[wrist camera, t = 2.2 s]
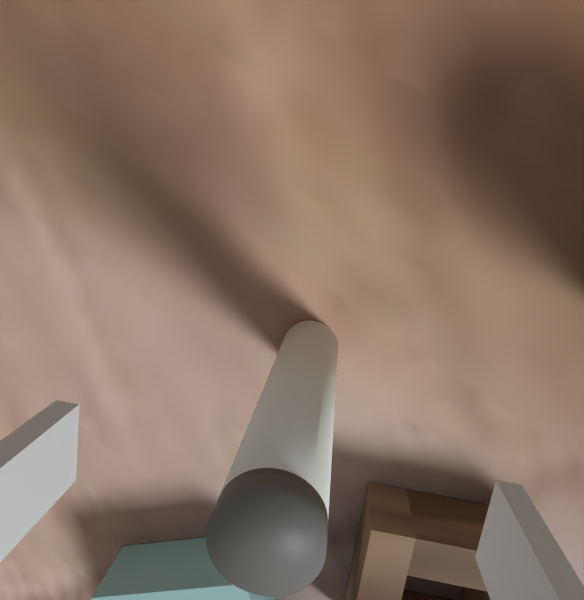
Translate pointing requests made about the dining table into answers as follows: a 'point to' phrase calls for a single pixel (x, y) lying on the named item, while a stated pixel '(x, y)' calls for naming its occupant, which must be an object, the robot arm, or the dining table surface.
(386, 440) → the dining table surface
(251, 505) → the pale grey rod
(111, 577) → the teal square ring
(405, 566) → the brown square wooden ring
